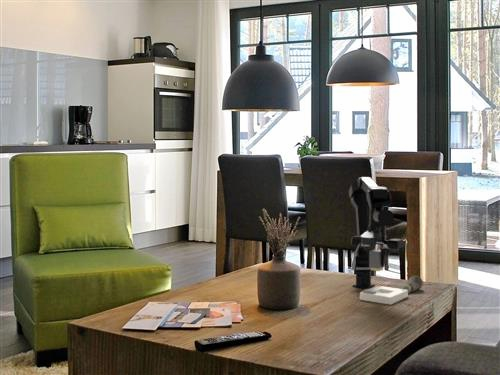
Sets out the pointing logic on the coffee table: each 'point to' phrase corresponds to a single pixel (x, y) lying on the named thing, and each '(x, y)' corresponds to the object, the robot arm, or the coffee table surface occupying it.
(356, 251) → the robot arm
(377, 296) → the socket plate
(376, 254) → the plug
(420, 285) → the stone
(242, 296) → the coffee table surface
